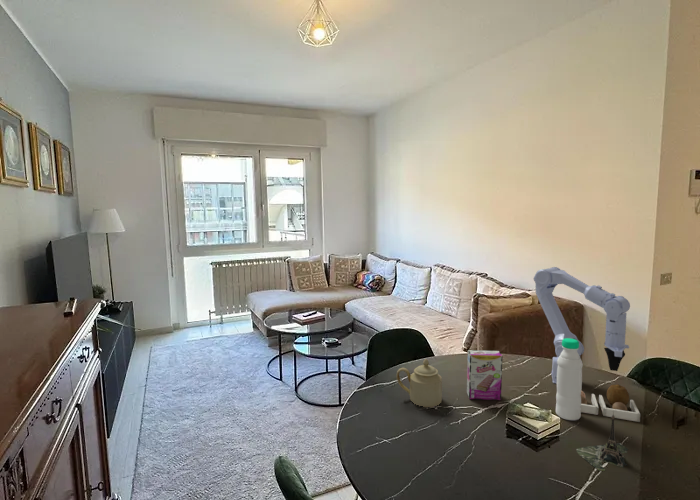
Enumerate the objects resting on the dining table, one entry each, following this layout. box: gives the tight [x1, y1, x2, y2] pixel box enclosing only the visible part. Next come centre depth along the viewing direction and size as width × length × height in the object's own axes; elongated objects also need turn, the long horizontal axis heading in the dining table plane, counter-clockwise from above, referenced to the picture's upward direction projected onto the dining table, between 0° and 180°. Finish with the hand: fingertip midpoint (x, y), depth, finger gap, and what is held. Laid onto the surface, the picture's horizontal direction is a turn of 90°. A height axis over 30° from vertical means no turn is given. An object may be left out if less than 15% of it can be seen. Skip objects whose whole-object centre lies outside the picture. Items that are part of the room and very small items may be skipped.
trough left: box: [580, 393, 599, 416], centre depth 134 cm, size 10×10×2 cm
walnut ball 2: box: [611, 402, 628, 411], centre depth 127 cm, size 4×4×4 cm
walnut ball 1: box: [581, 396, 588, 405], centre depth 133 cm, size 4×4×4 cm
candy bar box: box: [466, 349, 503, 401], centre depth 141 cm, size 11×5×16 cm, turn 84°
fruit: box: [606, 383, 630, 406], centre depth 131 cm, size 6×6×8 cm
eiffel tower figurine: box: [575, 412, 630, 472], centre depth 106 cm, size 15×10×13 cm
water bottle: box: [555, 338, 584, 421], centre depth 127 cm, size 7×7×25 cm
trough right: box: [598, 394, 641, 423], centre depth 129 cm, size 10×10×2 cm
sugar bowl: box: [396, 358, 443, 408], centre depth 139 cm, size 15×11×15 cm
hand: (613, 369), depth 139 cm, fingers closed
